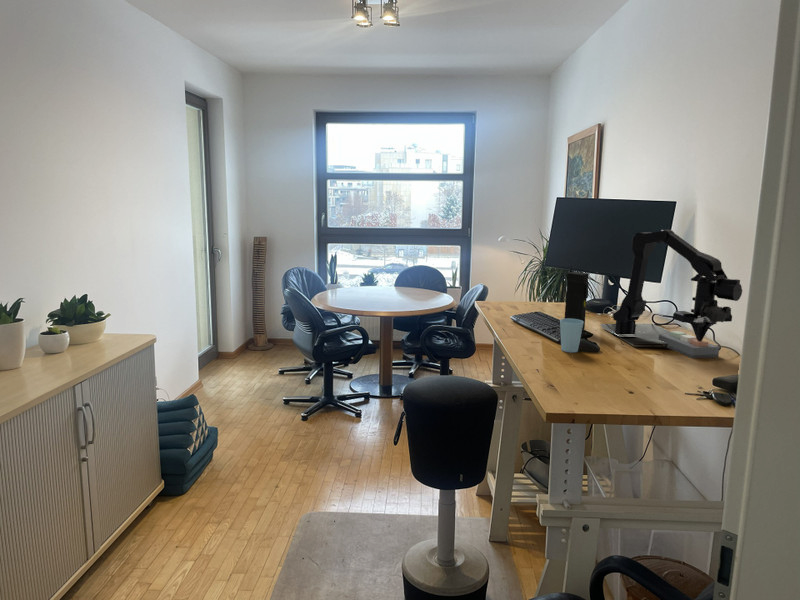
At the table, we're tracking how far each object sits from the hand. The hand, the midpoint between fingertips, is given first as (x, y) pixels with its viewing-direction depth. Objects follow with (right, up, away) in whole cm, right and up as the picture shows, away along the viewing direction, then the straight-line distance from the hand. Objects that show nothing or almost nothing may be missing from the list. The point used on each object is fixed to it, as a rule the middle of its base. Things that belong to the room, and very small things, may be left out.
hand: (699, 341), depth 196 cm
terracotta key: (0, -2, 0) cm, 2 cm away
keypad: (-1, -4, +6) cm, 7 cm away
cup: (-43, -4, +3) cm, 44 cm away
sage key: (-2, 0, +11) cm, 11 cm away
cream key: (-1, -1, +6) cm, 6 cm away
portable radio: (-32, +2, +33) cm, 46 cm away
